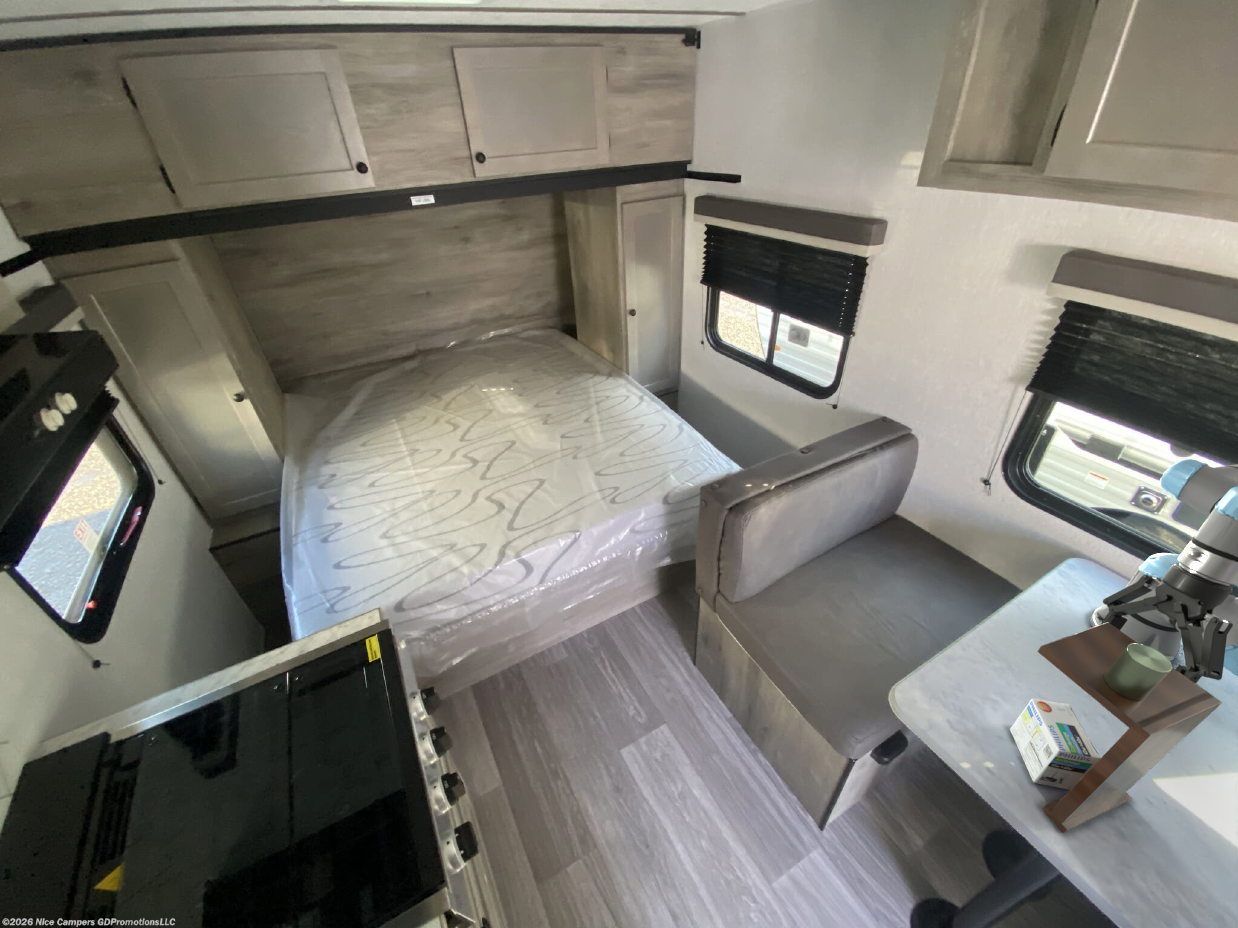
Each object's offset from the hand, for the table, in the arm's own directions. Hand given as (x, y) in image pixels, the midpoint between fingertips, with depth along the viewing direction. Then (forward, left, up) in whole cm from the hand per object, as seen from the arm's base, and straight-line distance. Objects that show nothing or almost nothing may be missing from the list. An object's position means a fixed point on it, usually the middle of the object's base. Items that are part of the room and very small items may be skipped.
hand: (1130, 668), depth 95 cm
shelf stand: (+16, +4, -17) cm, 24 cm away
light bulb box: (+16, +3, -17) cm, 24 cm away
